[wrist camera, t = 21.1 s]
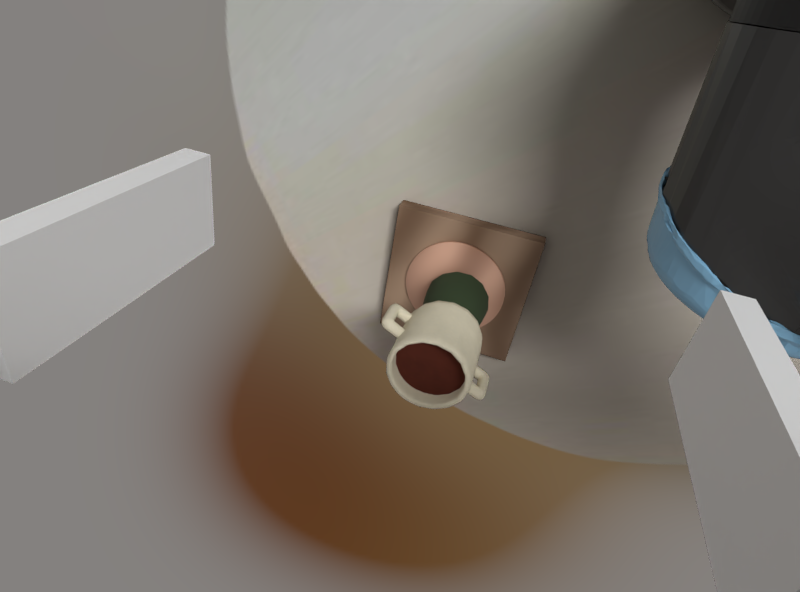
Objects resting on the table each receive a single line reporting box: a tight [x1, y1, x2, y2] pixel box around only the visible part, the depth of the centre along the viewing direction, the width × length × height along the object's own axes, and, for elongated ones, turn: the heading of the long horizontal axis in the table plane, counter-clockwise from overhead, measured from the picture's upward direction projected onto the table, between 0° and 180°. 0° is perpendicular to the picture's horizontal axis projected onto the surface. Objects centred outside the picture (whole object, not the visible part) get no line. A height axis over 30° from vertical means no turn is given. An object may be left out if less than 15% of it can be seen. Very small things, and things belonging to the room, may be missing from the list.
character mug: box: [382, 272, 489, 409], centre depth 46 cm, size 11×7×13 cm, turn 55°
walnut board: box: [380, 200, 546, 361], centre depth 52 cm, size 14×14×2 cm
